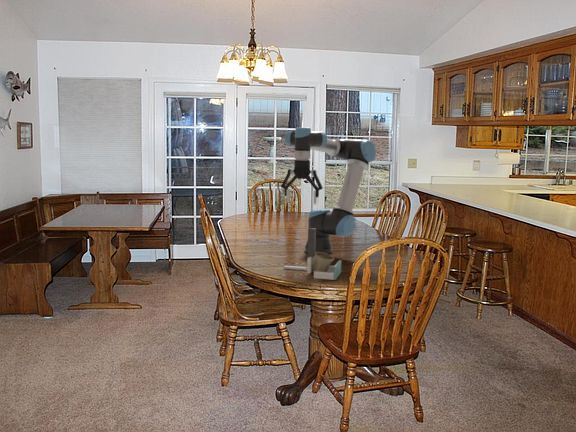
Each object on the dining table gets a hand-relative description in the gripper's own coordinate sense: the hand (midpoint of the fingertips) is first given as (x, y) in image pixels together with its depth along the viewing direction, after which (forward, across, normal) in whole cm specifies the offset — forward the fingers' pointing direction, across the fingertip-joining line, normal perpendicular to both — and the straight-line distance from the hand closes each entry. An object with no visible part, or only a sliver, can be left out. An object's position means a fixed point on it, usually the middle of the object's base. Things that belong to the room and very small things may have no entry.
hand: (301, 203), depth 298 cm
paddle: (+29, +9, -14) cm, 34 cm away
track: (+31, +3, -10) cm, 32 cm away
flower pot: (+30, +13, -16) cm, 36 cm away
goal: (+31, +16, -16) cm, 38 cm away
